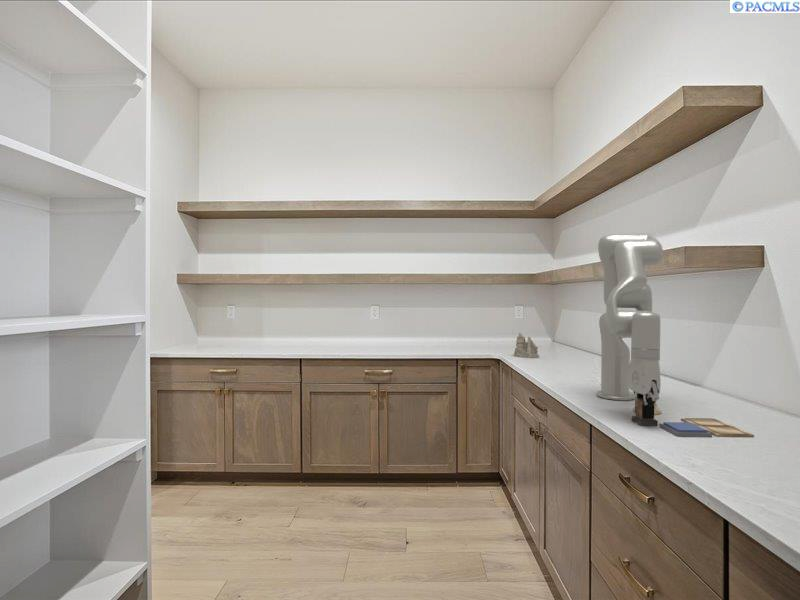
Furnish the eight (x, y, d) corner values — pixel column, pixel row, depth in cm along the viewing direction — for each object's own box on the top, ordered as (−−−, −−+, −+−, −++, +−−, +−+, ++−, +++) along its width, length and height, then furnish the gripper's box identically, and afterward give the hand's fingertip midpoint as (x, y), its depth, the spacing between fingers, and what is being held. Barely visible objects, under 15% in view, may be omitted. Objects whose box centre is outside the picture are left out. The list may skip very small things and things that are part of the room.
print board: (680, 420, 139) (680, 417, 139) (714, 420, 139) (714, 418, 139) (716, 436, 123) (716, 434, 123) (754, 437, 123) (754, 434, 123)
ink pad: (659, 426, 132) (659, 421, 132) (691, 427, 132) (691, 421, 132) (677, 436, 123) (677, 430, 123) (711, 437, 123) (711, 431, 123)
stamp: (631, 420, 138) (632, 397, 138) (648, 421, 138) (649, 397, 138) (640, 425, 133) (640, 401, 133) (657, 425, 133) (658, 401, 133)
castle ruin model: (534, 358, 270) (534, 333, 271) (508, 357, 281) (509, 332, 282) (545, 357, 281) (545, 333, 282) (521, 356, 293) (521, 332, 293)
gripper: (619, 350, 143) (618, 409, 144) (647, 358, 127) (646, 424, 127) (643, 350, 143) (642, 409, 143) (674, 358, 127) (673, 424, 127)
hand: (644, 415), depth 135 cm, fingers closed on stamp, 3 cm apart
